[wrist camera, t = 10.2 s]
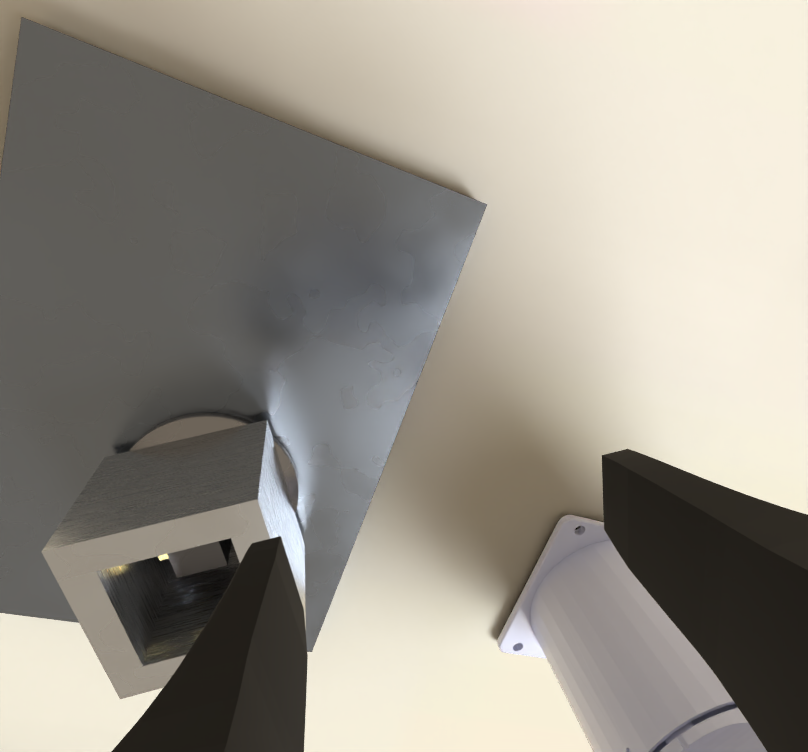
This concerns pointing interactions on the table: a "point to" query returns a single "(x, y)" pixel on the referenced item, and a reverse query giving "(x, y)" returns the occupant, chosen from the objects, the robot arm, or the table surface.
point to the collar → (167, 545)
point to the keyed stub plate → (201, 301)
